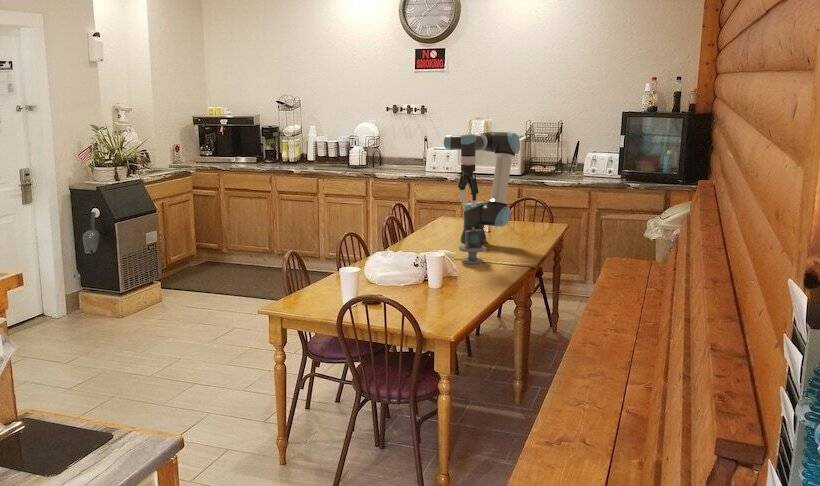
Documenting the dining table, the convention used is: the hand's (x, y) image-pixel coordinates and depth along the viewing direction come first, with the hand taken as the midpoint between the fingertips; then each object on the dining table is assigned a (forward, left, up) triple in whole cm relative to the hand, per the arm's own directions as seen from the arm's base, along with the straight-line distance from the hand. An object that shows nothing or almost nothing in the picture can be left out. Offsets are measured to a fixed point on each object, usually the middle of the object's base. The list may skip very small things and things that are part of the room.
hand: (468, 204), depth 387 cm
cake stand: (+2, +11, -28) cm, 30 cm away
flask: (+1, +11, -21) cm, 24 cm away
